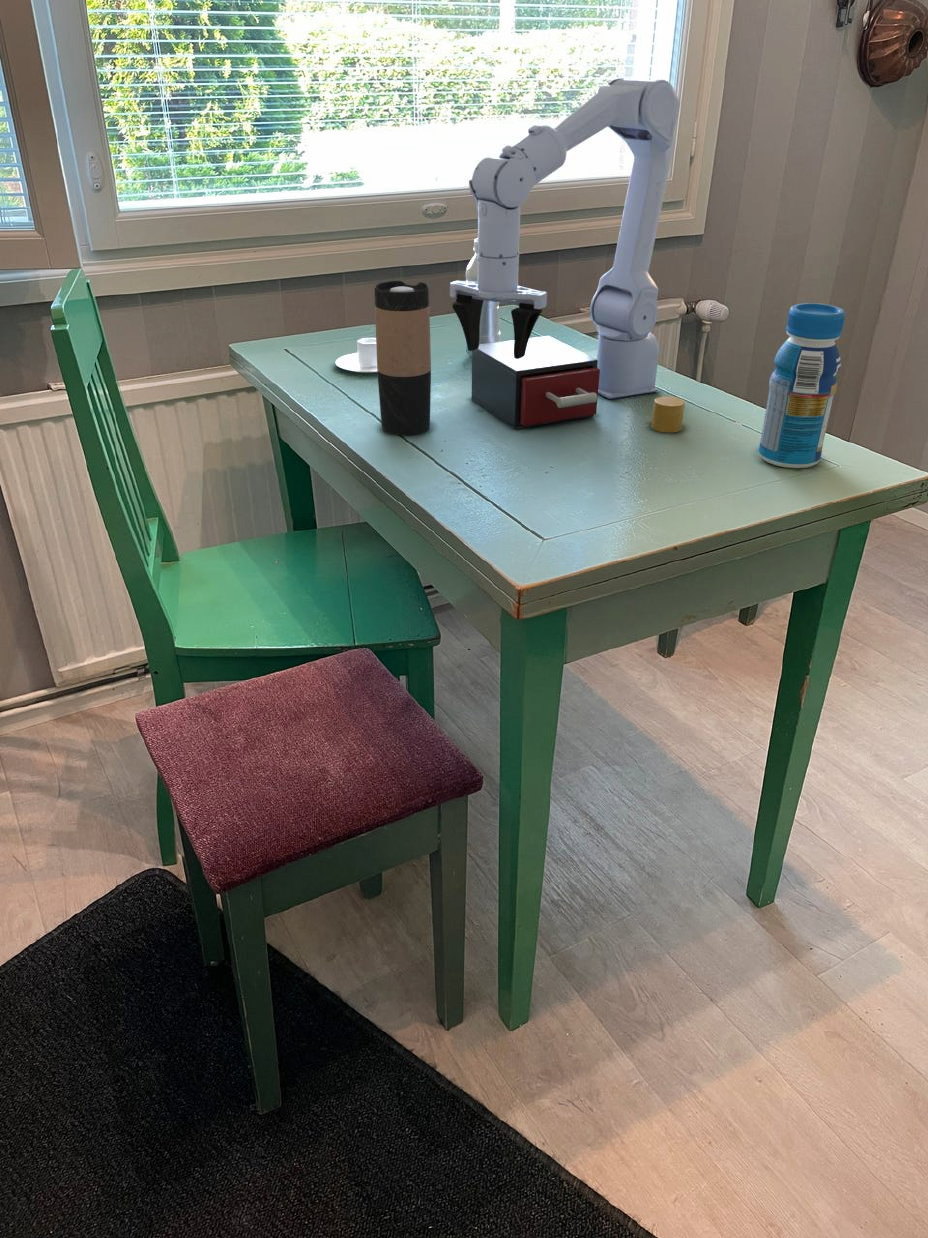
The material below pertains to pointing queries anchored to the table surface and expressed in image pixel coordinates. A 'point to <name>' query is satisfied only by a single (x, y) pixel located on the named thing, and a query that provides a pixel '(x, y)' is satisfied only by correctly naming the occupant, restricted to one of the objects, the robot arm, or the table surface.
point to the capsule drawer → (558, 395)
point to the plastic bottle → (484, 308)
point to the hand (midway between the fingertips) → (496, 353)
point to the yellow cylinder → (668, 414)
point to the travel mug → (403, 356)
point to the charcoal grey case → (518, 373)
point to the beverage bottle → (802, 387)
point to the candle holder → (361, 357)
